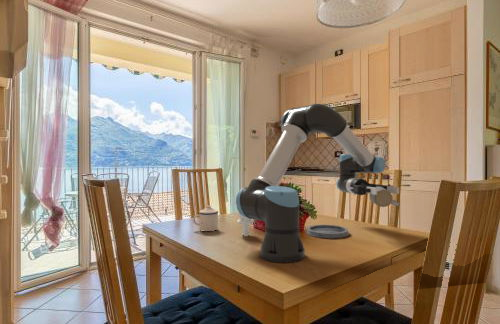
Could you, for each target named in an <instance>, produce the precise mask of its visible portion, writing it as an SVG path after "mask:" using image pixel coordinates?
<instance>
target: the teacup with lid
mask: <svg viewBox="0 0 500 324" xmlns="http://www.w3.org/2000/svg"><path fill="white" fill-rule="evenodd" d="M197 217H199V223H197V222H196V218H197ZM192 221H193V223H194V225H196V226H199V230H204V231H213V230H217V229H218V230H219V211H218V210H217V209H215V208H213V207H212V206H211V205H206V207H205V208H203V209H201V210H199V213H198V214H196V215H194V216H193V218H192ZM218 230H217V231H218Z"/></svg>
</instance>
